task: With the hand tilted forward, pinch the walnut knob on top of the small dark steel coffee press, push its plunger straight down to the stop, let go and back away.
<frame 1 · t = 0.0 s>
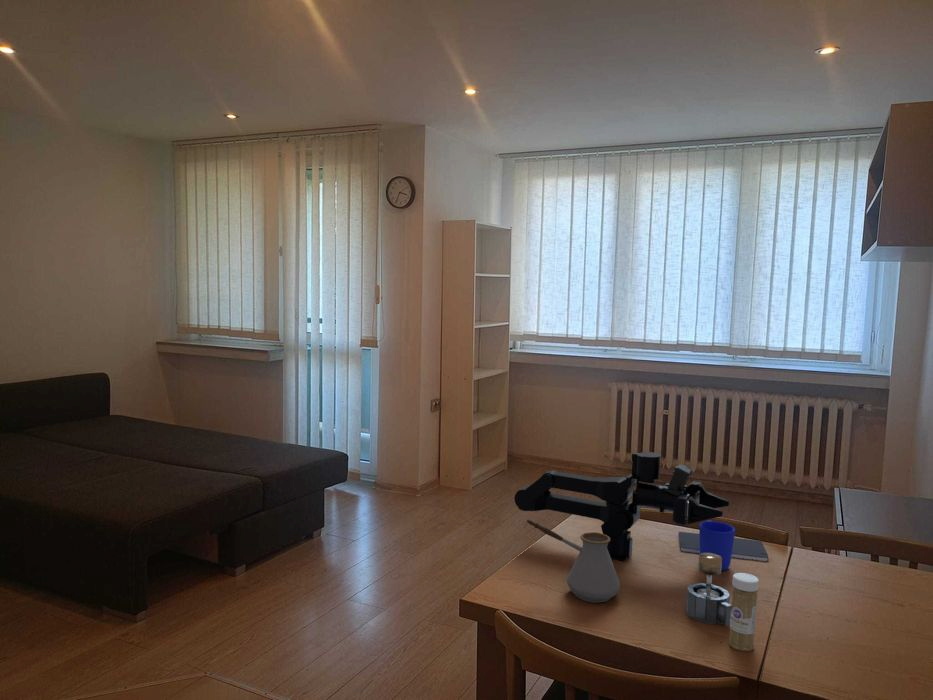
hand: (725, 508, 161), 17 cm above the table, tool horizontal, fingers open, 9 cm apart
notebook: (721, 550, 182), on the table
coffee pot: (569, 592, 152), on the table
plunger: (709, 576, 142), point 8 cm above the table, slide at 0.0 cm
press body: (706, 614, 143), on the table
mug: (712, 564, 171), on the table
sprinkles bottle: (741, 647, 130), on the table
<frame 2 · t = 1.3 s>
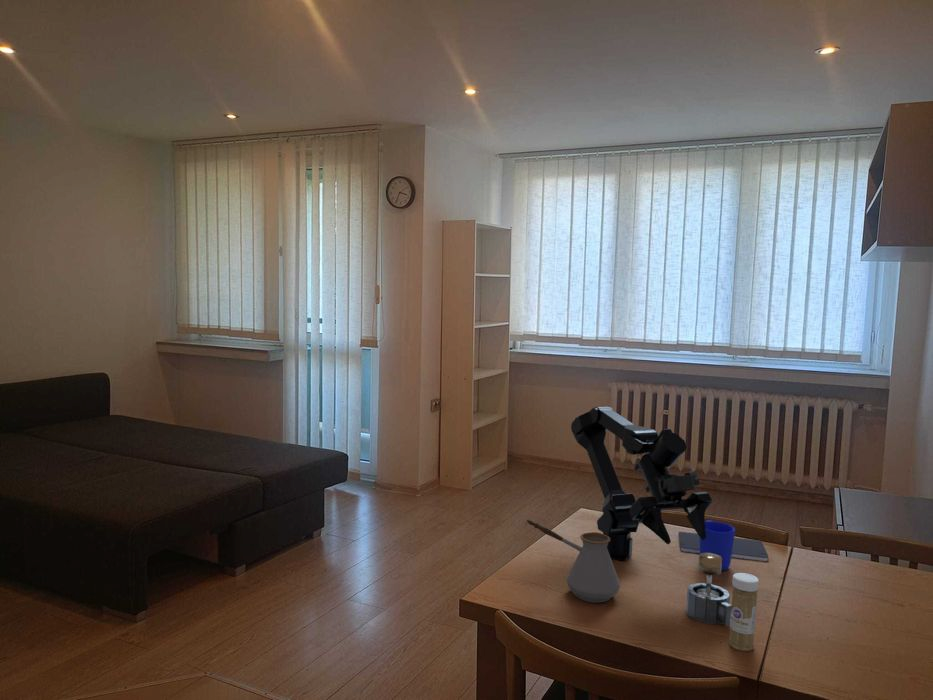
hand: (687, 541, 149), 13 cm above the table, tool tilted 45°, fingers open, 9 cm apart
nothing on the table moved.
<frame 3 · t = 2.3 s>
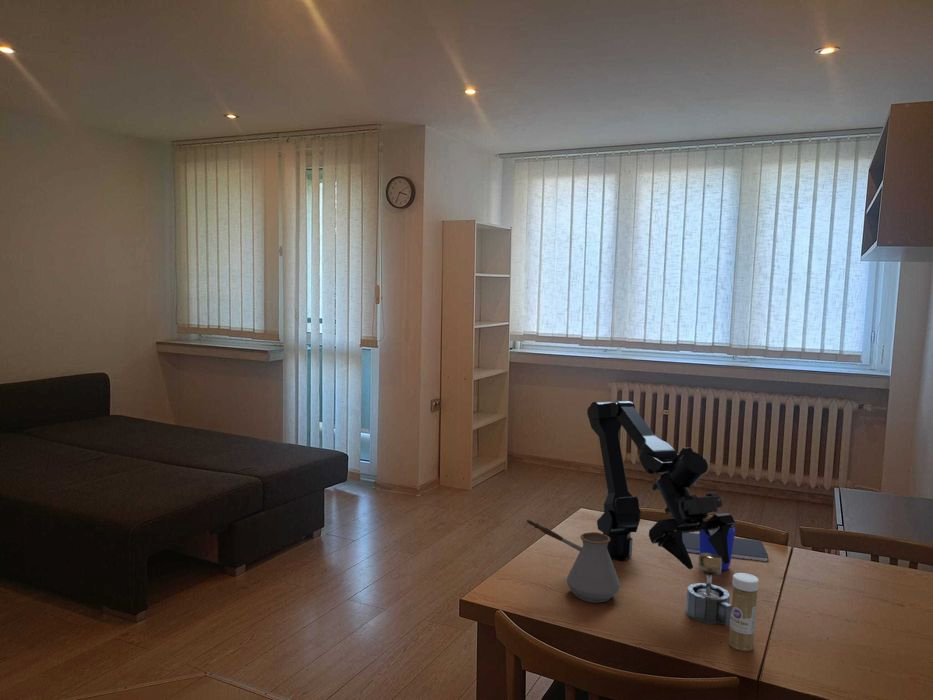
hand: (709, 566, 142), 10 cm above the table, tool tilted 45°, fingers open, 9 cm apart
nothing on the table moved.
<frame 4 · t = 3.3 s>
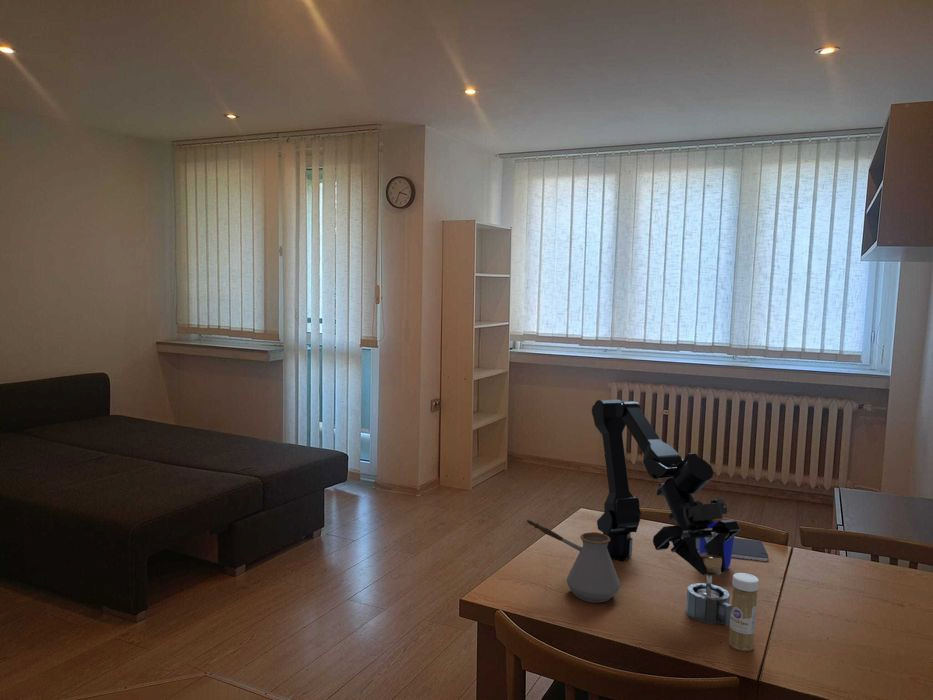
hand: (714, 573, 141), 9 cm above the table, tool tilted 45°, fingers closed on plunger, 4 cm apart
plunger: (709, 576, 142), point 8 cm above the table, slide at 0.0 cm, touching gripper
everything else where it was.
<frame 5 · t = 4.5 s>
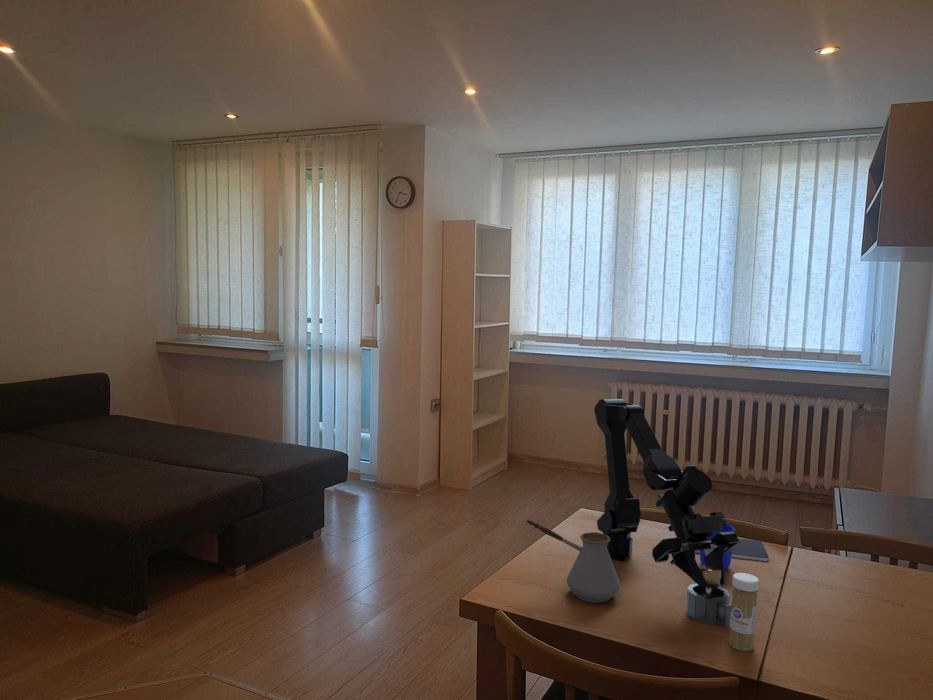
hand: (713, 585, 141), 7 cm above the table, tool tilted 45°, fingers closed on plunger, 4 cm apart
plunger: (708, 588, 142), point 5 cm above the table, slide at 2.7 cm, touching gripper
everything else where it was.
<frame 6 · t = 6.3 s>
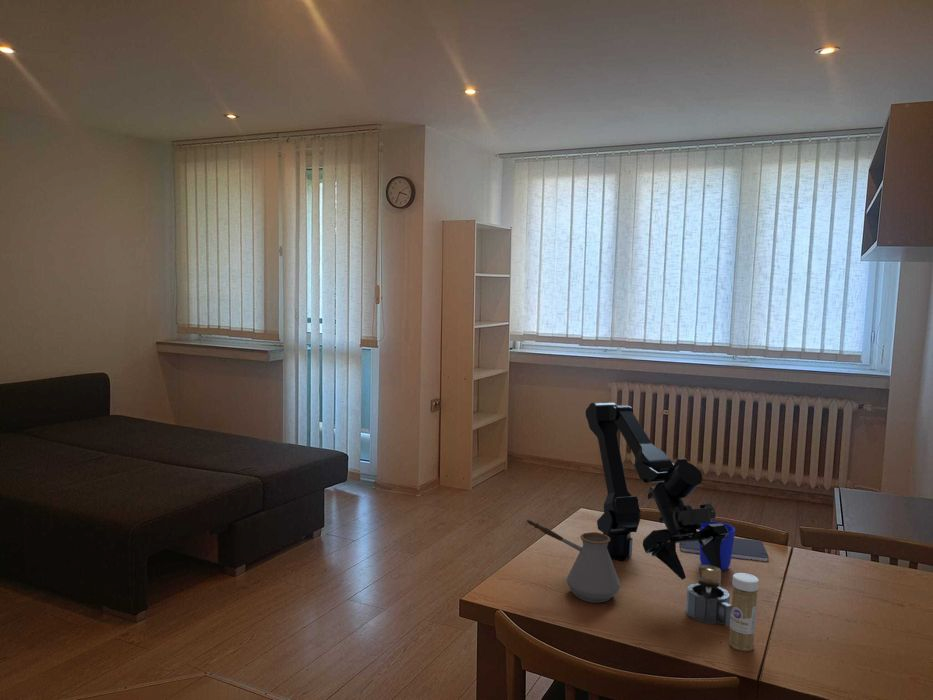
hand: (702, 576, 144), 7 cm above the table, tool tilted 45°, fingers open, 9 cm apart
plunger: (708, 588, 142), point 6 cm above the table, slide at 2.6 cm
everything else where it was.
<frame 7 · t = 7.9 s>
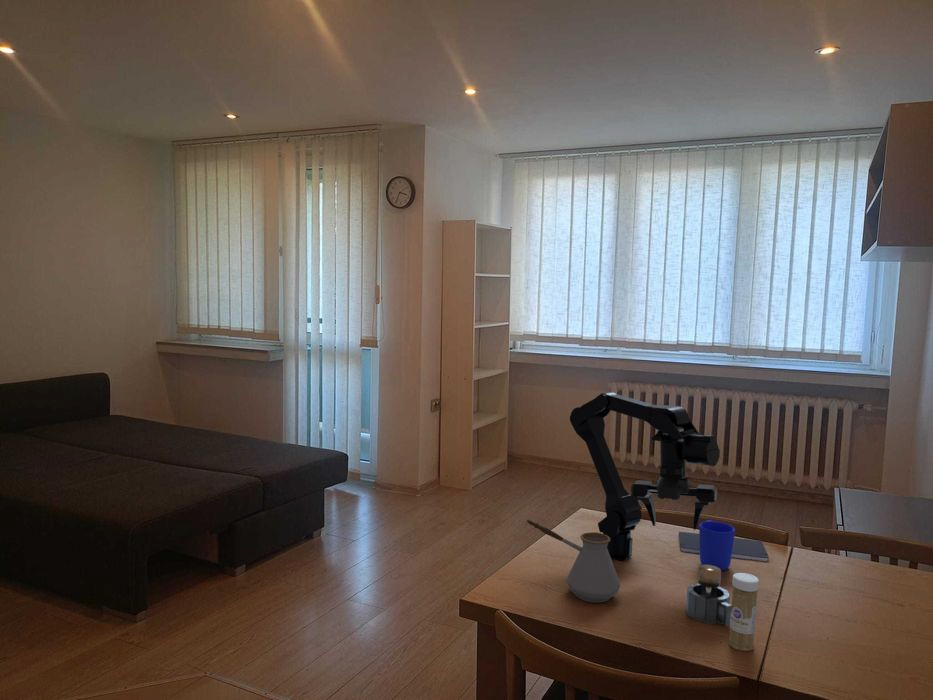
hand: (674, 527, 162), 11 cm above the table, tool pointing down, fingers open, 9 cm apart
nothing on the table moved.
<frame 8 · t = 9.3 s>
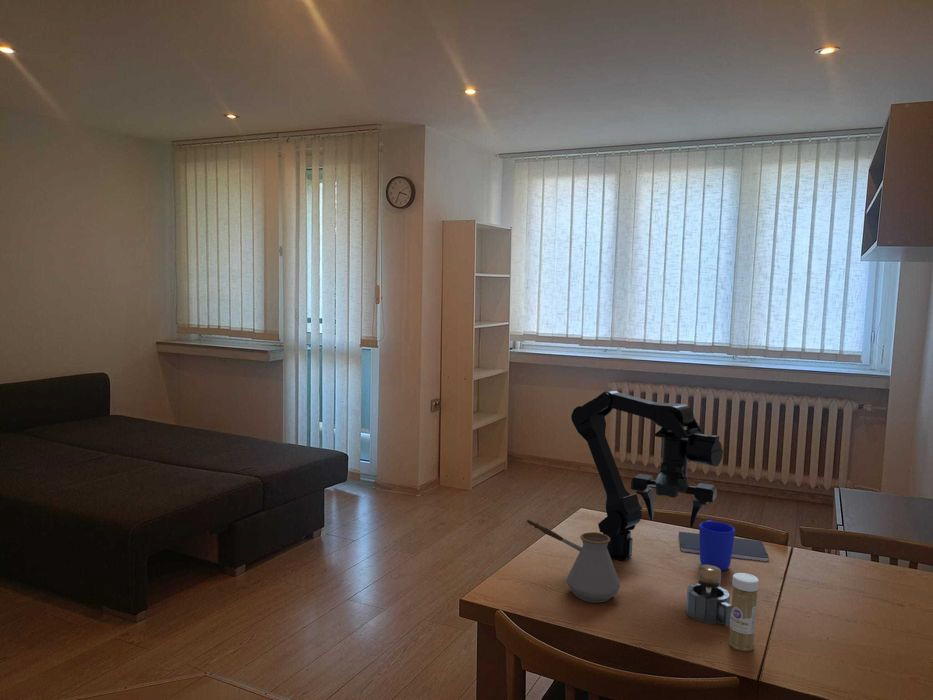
hand: (671, 523, 163), 12 cm above the table, tool pointing down, fingers open, 9 cm apart
nothing on the table moved.
at the end: plunger slide at 2.6 cm; the gripper is holding nothing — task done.
